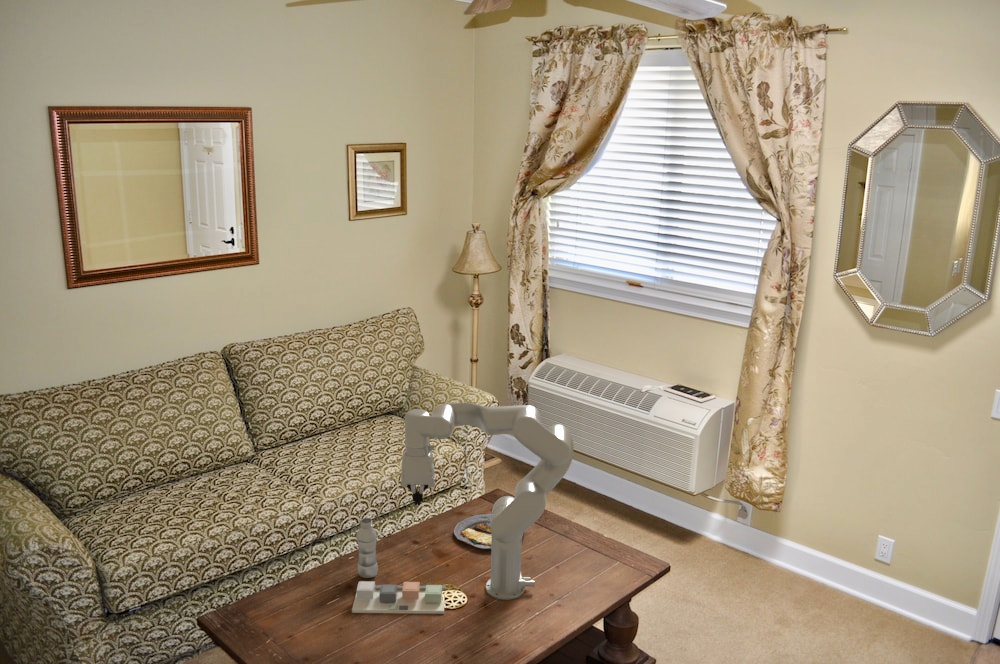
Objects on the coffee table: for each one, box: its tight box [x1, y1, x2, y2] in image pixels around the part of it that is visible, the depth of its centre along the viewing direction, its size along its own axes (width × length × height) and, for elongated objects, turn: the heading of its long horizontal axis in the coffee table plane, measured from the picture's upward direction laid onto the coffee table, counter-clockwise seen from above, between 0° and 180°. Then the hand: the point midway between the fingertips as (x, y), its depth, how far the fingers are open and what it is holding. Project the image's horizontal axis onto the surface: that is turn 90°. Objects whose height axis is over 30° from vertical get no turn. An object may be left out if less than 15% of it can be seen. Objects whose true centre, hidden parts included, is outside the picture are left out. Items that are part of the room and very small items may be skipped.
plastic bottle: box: [355, 517, 379, 579], centre depth 272 cm, size 6×7×20 cm
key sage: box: [425, 584, 443, 603], centre depth 260 cm, size 5×5×3 cm
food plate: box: [453, 513, 526, 550], centre depth 301 cm, size 25×23×4 cm
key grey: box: [356, 580, 376, 599], centre depth 260 cm, size 5×5×3 cm
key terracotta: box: [402, 581, 421, 600], centre depth 260 cm, size 5×5×3 cm
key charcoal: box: [379, 583, 398, 602], centre depth 260 cm, size 5×5×3 cm
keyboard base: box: [351, 584, 447, 615], centre depth 261 cm, size 28×12×2 cm, turn 91°
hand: (417, 503), depth 262 cm, fingers closed
